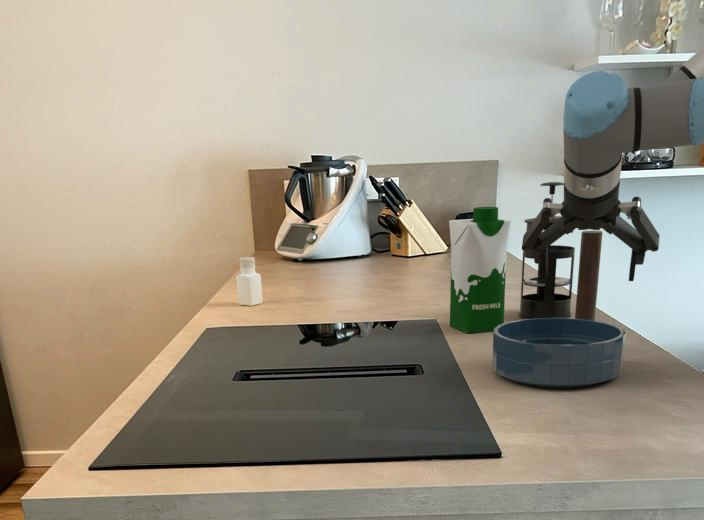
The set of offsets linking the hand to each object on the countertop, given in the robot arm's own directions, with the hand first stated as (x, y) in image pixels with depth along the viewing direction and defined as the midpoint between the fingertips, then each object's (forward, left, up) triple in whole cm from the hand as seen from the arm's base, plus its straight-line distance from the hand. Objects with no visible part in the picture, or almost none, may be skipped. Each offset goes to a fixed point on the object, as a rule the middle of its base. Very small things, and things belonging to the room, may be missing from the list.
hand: (587, 273), depth 128 cm
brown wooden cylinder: (0, 0, -9) cm, 9 cm away
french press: (+6, -13, -10) cm, 17 cm away
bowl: (+6, +27, -9) cm, 29 cm away
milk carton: (+18, -2, -10) cm, 20 cm away
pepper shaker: (+66, -24, -10) cm, 71 cm away
